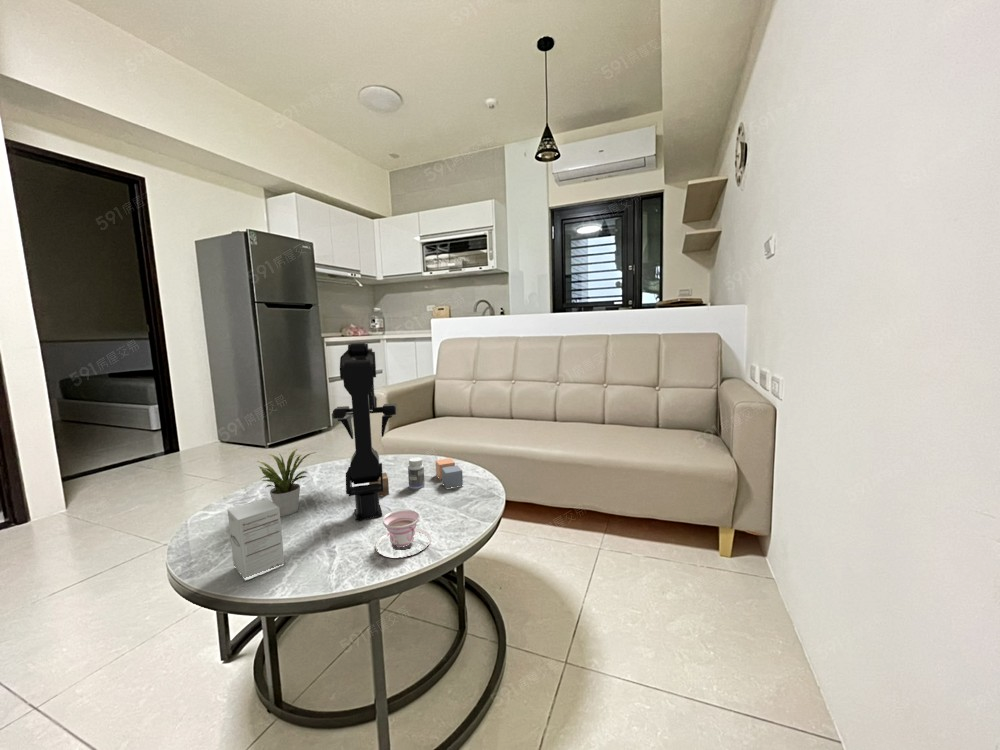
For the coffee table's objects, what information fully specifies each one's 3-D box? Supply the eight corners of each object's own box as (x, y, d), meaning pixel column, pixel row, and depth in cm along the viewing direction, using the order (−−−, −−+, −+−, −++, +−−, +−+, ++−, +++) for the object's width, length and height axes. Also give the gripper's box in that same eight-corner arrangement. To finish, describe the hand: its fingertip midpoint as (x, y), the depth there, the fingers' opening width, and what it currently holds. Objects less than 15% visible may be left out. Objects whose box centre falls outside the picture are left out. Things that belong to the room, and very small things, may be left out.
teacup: (365, 545, 87) (363, 518, 86) (413, 525, 95) (411, 500, 95) (392, 567, 78) (390, 537, 78) (442, 543, 87) (440, 516, 86)
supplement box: (232, 568, 79) (226, 508, 78) (273, 552, 85) (267, 496, 83) (243, 583, 74) (236, 519, 73) (285, 565, 80) (280, 506, 78)
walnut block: (389, 494, 114) (388, 477, 113) (370, 497, 112) (369, 480, 111) (387, 488, 118) (386, 472, 118) (369, 491, 116) (368, 475, 116)
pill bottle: (405, 487, 119) (404, 460, 118) (417, 481, 122) (415, 455, 122) (416, 490, 116) (415, 462, 115) (428, 484, 120) (426, 458, 119)
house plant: (316, 493, 115) (311, 439, 114) (326, 510, 104) (321, 450, 102) (259, 507, 107) (253, 449, 106) (263, 527, 96) (257, 462, 94)
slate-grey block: (462, 486, 118) (462, 470, 117) (446, 489, 116) (445, 473, 116) (458, 480, 123) (457, 465, 122) (442, 483, 121) (441, 467, 120)
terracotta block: (455, 477, 125) (454, 462, 125) (440, 480, 123) (439, 464, 123) (451, 472, 130) (450, 458, 129) (436, 475, 128) (435, 460, 127)
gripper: (397, 384, 132) (400, 429, 134) (339, 387, 129) (342, 433, 131) (394, 388, 121) (397, 437, 123) (330, 391, 118) (334, 442, 120)
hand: (367, 437), depth 124 cm, fingers open, 9 cm apart
